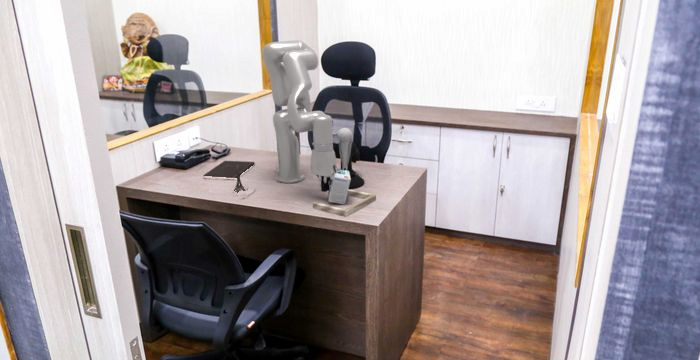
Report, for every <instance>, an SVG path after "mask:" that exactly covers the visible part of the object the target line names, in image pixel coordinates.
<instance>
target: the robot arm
mask: <svg viewBox="0 0 700 360" xmlns="http://www.w3.org/2000/svg"><path fill="white" fill-rule="evenodd" d="M262 59H263V63H264V67H265V68H266V70H267V73H268V75H269V76H268V77H269V83H270V87H271V95H272V96H271V97H272V101H273V102H274V104H275V106H277V107H286V108H285V109H284V108H283V109H281V110H278V111H276V112H275V113H274V114H273V116H272V123H273V127H274V132H275V136H276V137H275V138H276V146H277V158H278V166H276V167H275V169H274V170H273V172H274V173H277V176H276V177H275V178H276V179H275V180H276V181H277V182H279V183H281V182H282V184H283V183H284V184H295V183H299V182H301V181H303V180H304V179H305V174H303V173H302V172H301V171H302V170H301V158H300V157H301V156H300V142H299V138H298V137H297V135H296V134H295V133H294V131H295V132H296V133H299V134H301V133H306V132H312V141H313V142H311V145H312V146H313V149H311V156H310V172H311V174H313V175H314V176H315V177H317V178H318V181H319V182H320V192H322V193H326V192H328V191H329V187H330V185H329V181H330V180H331V179H333V178H334V174H335V172H336V173H337V169H338V165H337V164H338V163H337V157H336V152H335V150H334V142H333V141H334V140H333V139H334V138H333V136H334V135H333V119H332V116H331V115H328V114H325V112H324V111H322V110H313V111H312V104H311V98H310V97H311V96H310V92H309V91H310V90H311V89H312V87H313V83H312V80H311V77H310V73H309V71H315V70H317V68H318V66H319V58H318V55H317V53H316V52H315V50H314V49H313V48H311V46H309V45H308V44H306V43H305V42H303V41H302V40H283V41H282V40H279V41H274V42H269V43H267V44H266V45H265V46H264V47H263V50H262Z"/></svg>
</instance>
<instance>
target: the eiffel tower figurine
mask: <svg viewBox="0 0 700 360" xmlns="http://www.w3.org/2000/svg"><path fill="white" fill-rule="evenodd" d="M244 187H245V186H243V184H242V180H241V177H240V176H239V170H238V166H237V180H236V185H235V187H234V189H233V191H235V190H236V191H235V192H237V193H238V192H239V191H241V190H243V191H246V189H245V188H244Z"/></svg>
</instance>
